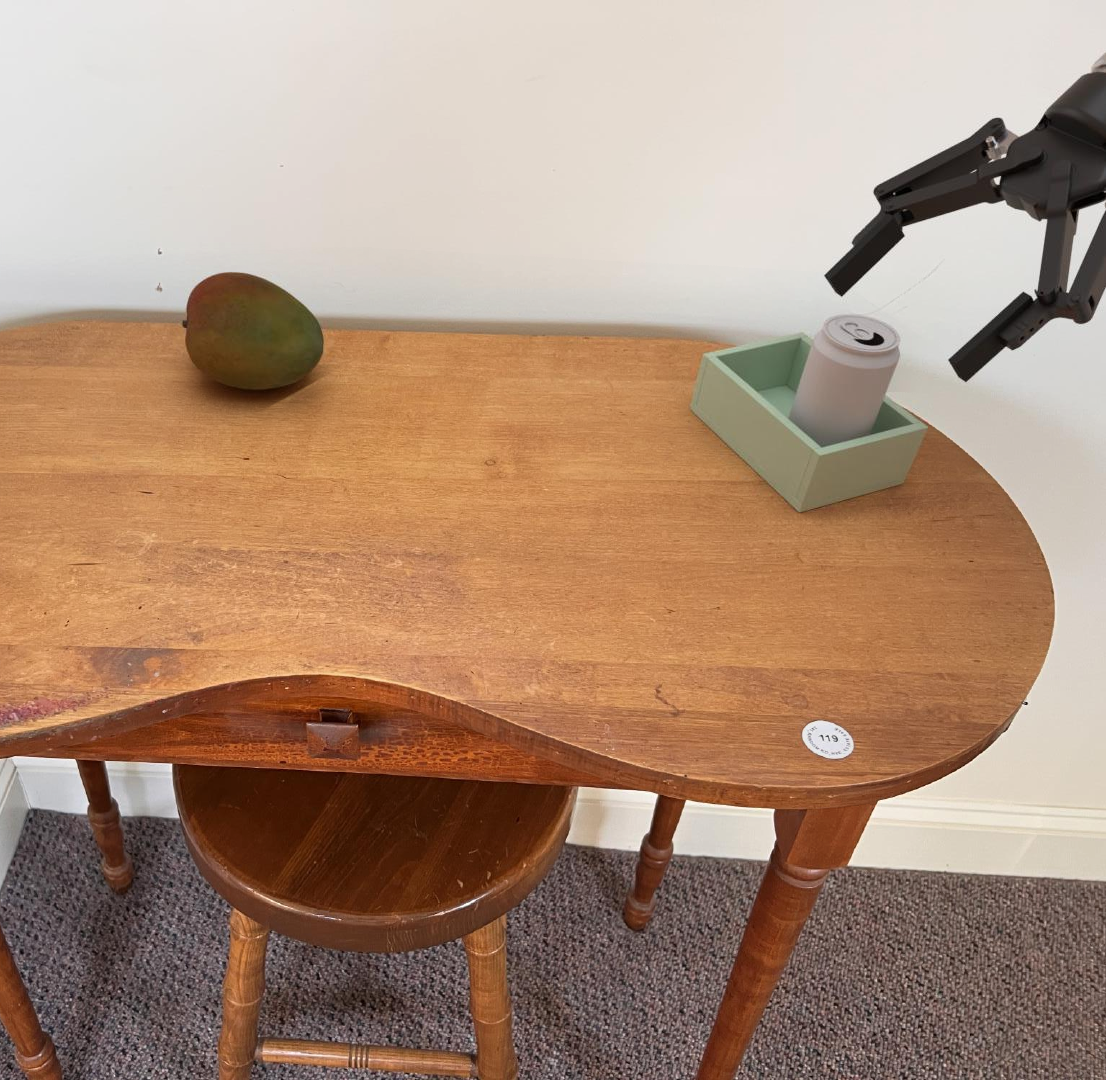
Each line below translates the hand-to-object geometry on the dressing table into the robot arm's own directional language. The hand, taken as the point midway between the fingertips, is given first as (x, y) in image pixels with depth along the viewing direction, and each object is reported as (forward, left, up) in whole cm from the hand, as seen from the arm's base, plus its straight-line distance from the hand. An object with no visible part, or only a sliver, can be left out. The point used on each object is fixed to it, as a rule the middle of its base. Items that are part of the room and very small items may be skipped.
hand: (890, 326), depth 80 cm
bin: (+3, +3, -13) cm, 13 cm away
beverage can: (0, +3, -12) cm, 12 cm away
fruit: (+30, +43, -13) cm, 54 cm away
